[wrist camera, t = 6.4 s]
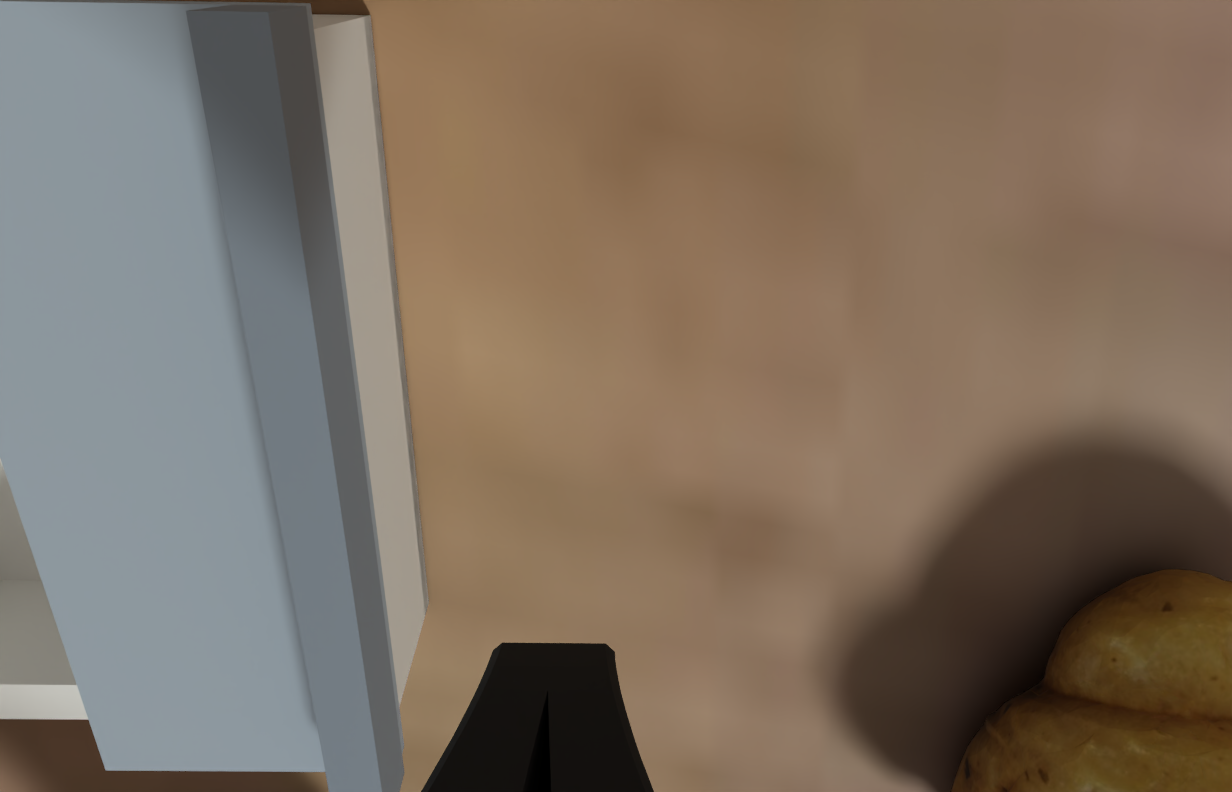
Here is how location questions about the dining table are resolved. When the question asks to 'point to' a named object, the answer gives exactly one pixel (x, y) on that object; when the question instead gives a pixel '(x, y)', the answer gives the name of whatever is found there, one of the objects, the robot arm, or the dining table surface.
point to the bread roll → (1122, 698)
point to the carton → (3, 561)
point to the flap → (190, 388)
